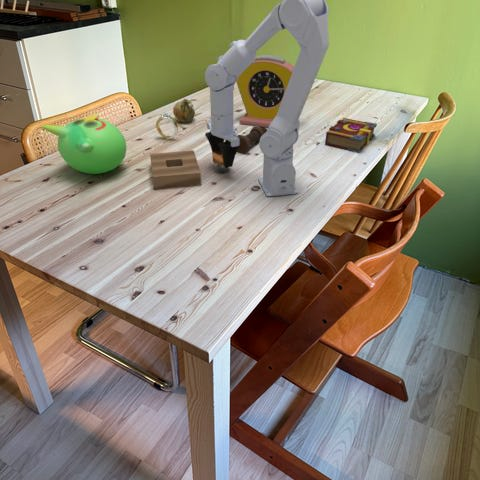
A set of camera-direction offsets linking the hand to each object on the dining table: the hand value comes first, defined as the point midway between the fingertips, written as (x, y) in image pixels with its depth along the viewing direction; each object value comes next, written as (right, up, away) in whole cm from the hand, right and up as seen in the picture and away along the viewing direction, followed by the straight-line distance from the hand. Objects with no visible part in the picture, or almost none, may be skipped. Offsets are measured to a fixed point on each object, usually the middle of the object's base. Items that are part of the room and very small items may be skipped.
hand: (223, 162), depth 119 cm
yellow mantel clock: (+14, +19, +32) cm, 39 cm away
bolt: (+8, +8, +16) cm, 20 cm away
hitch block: (-13, -3, -1) cm, 13 cm away
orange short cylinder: (0, -2, +1) cm, 2 cm away
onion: (-14, +20, +32) cm, 41 cm away
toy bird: (-35, -2, +1) cm, 35 cm away
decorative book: (+39, +10, +20) cm, 45 cm away
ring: (-18, +11, +19) cm, 28 cm away
